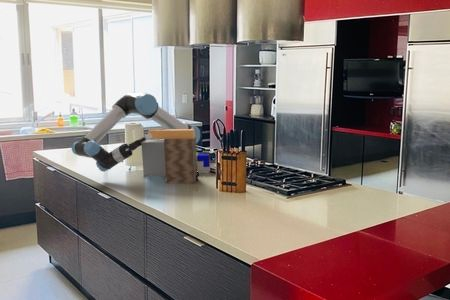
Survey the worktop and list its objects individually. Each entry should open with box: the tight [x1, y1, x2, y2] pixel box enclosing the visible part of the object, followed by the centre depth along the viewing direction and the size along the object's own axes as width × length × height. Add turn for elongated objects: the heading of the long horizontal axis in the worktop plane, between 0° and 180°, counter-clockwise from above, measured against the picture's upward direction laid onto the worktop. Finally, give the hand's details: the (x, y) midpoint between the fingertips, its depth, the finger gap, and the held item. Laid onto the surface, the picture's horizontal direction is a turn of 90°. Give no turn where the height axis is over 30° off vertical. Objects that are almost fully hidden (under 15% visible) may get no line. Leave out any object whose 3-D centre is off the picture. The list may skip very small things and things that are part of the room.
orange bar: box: [147, 128, 195, 140], centre depth 249 cm, size 24×4×4 cm, turn 82°
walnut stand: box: [163, 137, 198, 184], centre depth 251 cm, size 15×9×23 cm, turn 82°
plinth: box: [141, 139, 166, 177], centre depth 268 cm, size 16×9×19 cm, turn 82°
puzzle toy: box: [196, 151, 211, 174], centre depth 274 cm, size 10×10×10 cm
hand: (154, 132), depth 250 cm, fingers open, 13 cm apart
